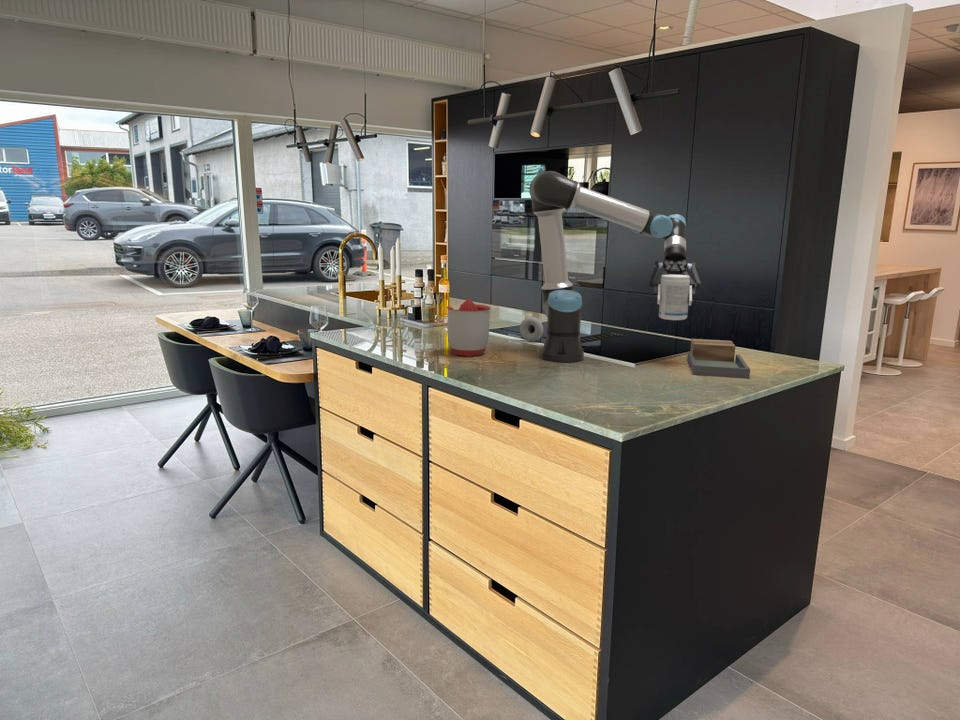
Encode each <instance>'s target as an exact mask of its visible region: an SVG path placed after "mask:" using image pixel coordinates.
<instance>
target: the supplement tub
mask: <svg viewBox="0 0 960 720" xmlns="http://www.w3.org/2000/svg"><path fill="white" fill-rule="evenodd" d="M689 276H690V275H689ZM689 276H687V275H680V274H669V275H662V276H661V285H660V288H661V291H660V304H658V305H659V307H658V317H659V319H662V320H669V321H684V320H686V319H687V318H688V314H689V287H690V280H689V278H690V277H691V276H690V277H689Z"/></svg>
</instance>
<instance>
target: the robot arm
mask: <svg viewBox="0 0 960 720" xmlns="http://www.w3.org/2000/svg"><path fill="white" fill-rule="evenodd" d="M528 190H529V196H530V198H531V205H532V213H533V214H534V215H535V216H536V217H537V220H538V231H539V238H540V247H541V257H542V258H541V259H542V266H543V267H542V269H543V275H544V284H543V285H542V286H541V294H542V295H541V296H542V301H541V308H542V312H543V314H544V315H545V316H546V317H547V318H546V319H547V320H546V321H547V322H546V323H547V324H546V338H545V340H544V343H543V346H542V349H541V350H540V351H541V352H540V357H541V358H542V359H543V360H546V361H551V362H557V363H574V362H575V363H576V362H580V361H583V360H584V357H585V352H584V349H583V344H582V341H581V321H582V320H581V318H582V305H583V299H582V295H581V294H580V293H579V292H577V291H575V290H574V284H573V283H572V282H571V281H570V280H569V275H568V265H567V255H566V254H567V252H566V245H565V233H564V224H563V223H564V222H563V213H564V211H566V210H571V209H574V210H577V211H580V212H583V213H586V214H589V215H591V216H595V217H597V218H599V219H600V218H601V219H603V220H607V221H609V222H611V223H615V224H617V225H621V226H623V227H626V228H629V229H631V232H632V233H636V234H638V235H642V236H646V237H652V238H656V239H659V240H664V244H663V245H664V247H663V249H664V251H663V261H662V262H659V261H658V260H655V262H654V269H653V271H652V274H651V277H650V279H649V283H648V285H649V287H650V288H653V289H654V290H653V291H654V292H653V293H654V295H655V296H657V302H656V304H657V305H659V304H660V291H661V288H660V285H661V276H662V275H687V276H689V277H690V278H689V280H690V287H689V301H688V307H689V306H692V303H693V298H694V297H695V295H696V289H700V288H701V279H700V277H699V274H698V271H697V268H696V262H695V261H692V262H691V263H688V261H687V222H686V221H687V220H686V218H685V217H684V216H683V215H681V214H677V213H676V214H670V215H668V216H667V215H665V214H660V213H656V212H654V211H650V210H648V209H645V208H643V207H640V206H637V205H634V204H632V203H628V202H625V201H623V200H620V199H617V198H614V197H611V196H609V195H606V194H603V193H601V192H598V191H595V190H592V189H590V188H586V187H583V186H582V185H581V184H580V182H579V181H576V180H573V179H572V178H569V177H566V176H565V175H564V174H561V173H559V172H556V171H554V170H547V171H544V172H541V173H539V174H537V175H536V176H534V177H533V179H532V180H531V182H530V185H529V189H528ZM661 268H663V269H664V270H663V271H662V273H661V274H660V275H659V277H657V276H658V273H659V270H660V269H661ZM687 268H688V270H689V271H690V274H691V275H689V273H688V271H687V270H686V269H687ZM691 276H692V277H691ZM656 278H657V279H656Z"/></svg>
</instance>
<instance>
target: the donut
mask: <svg viewBox="0 0 960 720" xmlns="http://www.w3.org/2000/svg"><path fill="white" fill-rule="evenodd" d="M530 326H533V327H534V332H530V330H529V327H530ZM519 333H520V335H521V336H522V337H523V339H524V340H526V341H527V342H531V343H532V342H537V341H539V340H540V339H541V337H542V336H543V333H544V326H543V323H542V321H541V320H540V319H539V318H537V317H536V316H527V317H525V318H524V319H523V320H522V321H521V323H520V325H519Z"/></svg>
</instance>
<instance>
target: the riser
mask: <svg viewBox="0 0 960 720" xmlns="http://www.w3.org/2000/svg"><path fill="white" fill-rule="evenodd" d="M689 352H692V354H693V357H694V359H695V360H711V361H727V362H735V357H736V345H735V344H734V342H733V341H732V340H722V339H721V340H720V339H704V338H691V340H690V350H689Z"/></svg>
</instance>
